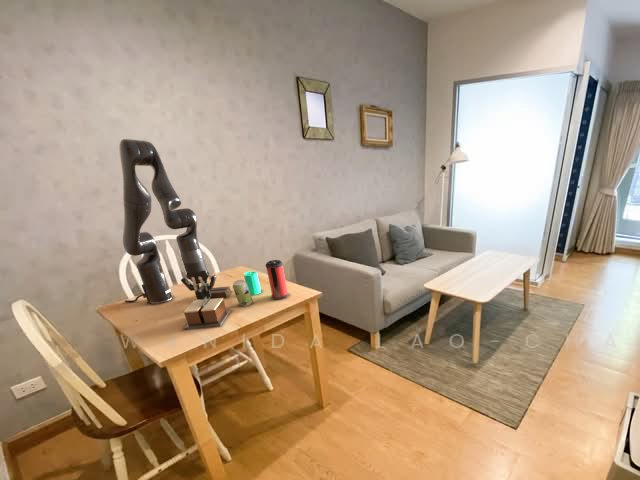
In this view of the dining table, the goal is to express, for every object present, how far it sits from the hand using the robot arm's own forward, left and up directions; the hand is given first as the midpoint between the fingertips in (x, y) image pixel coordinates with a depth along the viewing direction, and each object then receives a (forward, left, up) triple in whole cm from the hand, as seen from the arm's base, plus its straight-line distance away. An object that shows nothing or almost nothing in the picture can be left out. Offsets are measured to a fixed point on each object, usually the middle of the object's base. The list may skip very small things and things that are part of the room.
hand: (205, 298), depth 141 cm
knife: (0, 0, -7) cm, 7 cm away
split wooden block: (0, -2, -9) cm, 10 cm away
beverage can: (+12, +11, -10) cm, 19 cm away
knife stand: (-5, +25, -9) cm, 27 cm away
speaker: (+27, +17, -10) cm, 33 cm away
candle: (+13, +25, -10) cm, 30 cm away
